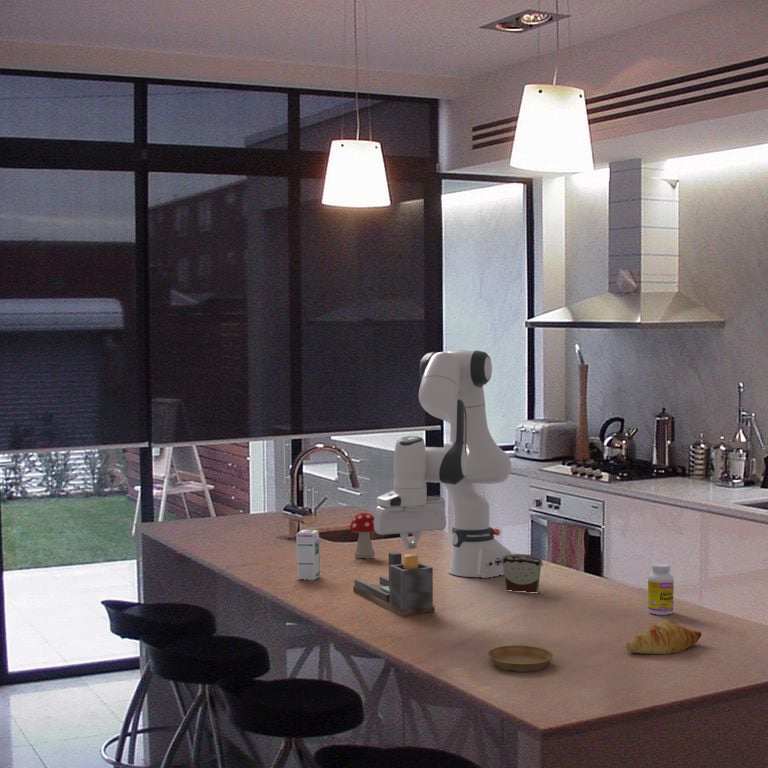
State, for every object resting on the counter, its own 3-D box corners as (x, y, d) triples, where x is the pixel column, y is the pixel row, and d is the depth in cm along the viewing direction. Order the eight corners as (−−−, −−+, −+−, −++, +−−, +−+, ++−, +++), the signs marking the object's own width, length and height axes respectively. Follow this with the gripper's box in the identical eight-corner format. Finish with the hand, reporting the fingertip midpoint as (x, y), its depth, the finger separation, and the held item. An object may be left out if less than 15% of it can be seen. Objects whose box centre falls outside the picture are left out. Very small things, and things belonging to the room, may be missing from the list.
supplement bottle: (659, 617, 305) (659, 568, 304) (642, 611, 311) (642, 563, 310) (678, 614, 308) (679, 565, 307) (661, 608, 314) (662, 561, 313)
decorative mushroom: (381, 555, 390) (381, 511, 390) (377, 560, 382) (376, 515, 381) (352, 554, 392) (352, 510, 391) (347, 559, 384) (346, 514, 383)
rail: (384, 588, 342) (384, 547, 341) (434, 611, 313) (434, 567, 312) (353, 591, 337) (352, 550, 337) (400, 615, 308) (400, 571, 308)
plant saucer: (547, 655, 271) (547, 644, 271) (558, 674, 256) (558, 663, 256) (484, 656, 271) (484, 645, 270) (491, 675, 256) (490, 664, 256)
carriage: (398, 592, 328) (397, 549, 327) (410, 598, 321) (410, 554, 320) (380, 594, 326) (379, 551, 325) (392, 600, 318) (391, 556, 318)
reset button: (414, 575, 316) (414, 553, 316) (421, 578, 313) (420, 556, 312) (401, 576, 315) (400, 554, 314) (407, 579, 311) (407, 557, 311)
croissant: (634, 672, 268) (643, 646, 264) (610, 643, 276) (619, 617, 272) (706, 658, 277) (717, 633, 273) (682, 630, 285) (691, 605, 281)
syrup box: (315, 580, 353) (314, 532, 352) (296, 579, 354) (296, 532, 353) (320, 576, 358) (319, 529, 358) (301, 575, 360) (301, 529, 359)
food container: (548, 589, 337) (548, 555, 337) (542, 594, 332) (542, 559, 331) (508, 586, 343) (507, 552, 342) (501, 590, 337) (500, 556, 336)
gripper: (439, 493, 320) (439, 543, 320) (371, 498, 311) (371, 549, 312) (450, 496, 314) (450, 547, 315) (381, 501, 306) (381, 553, 306)
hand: (410, 548), depth 313 cm, fingers closed
